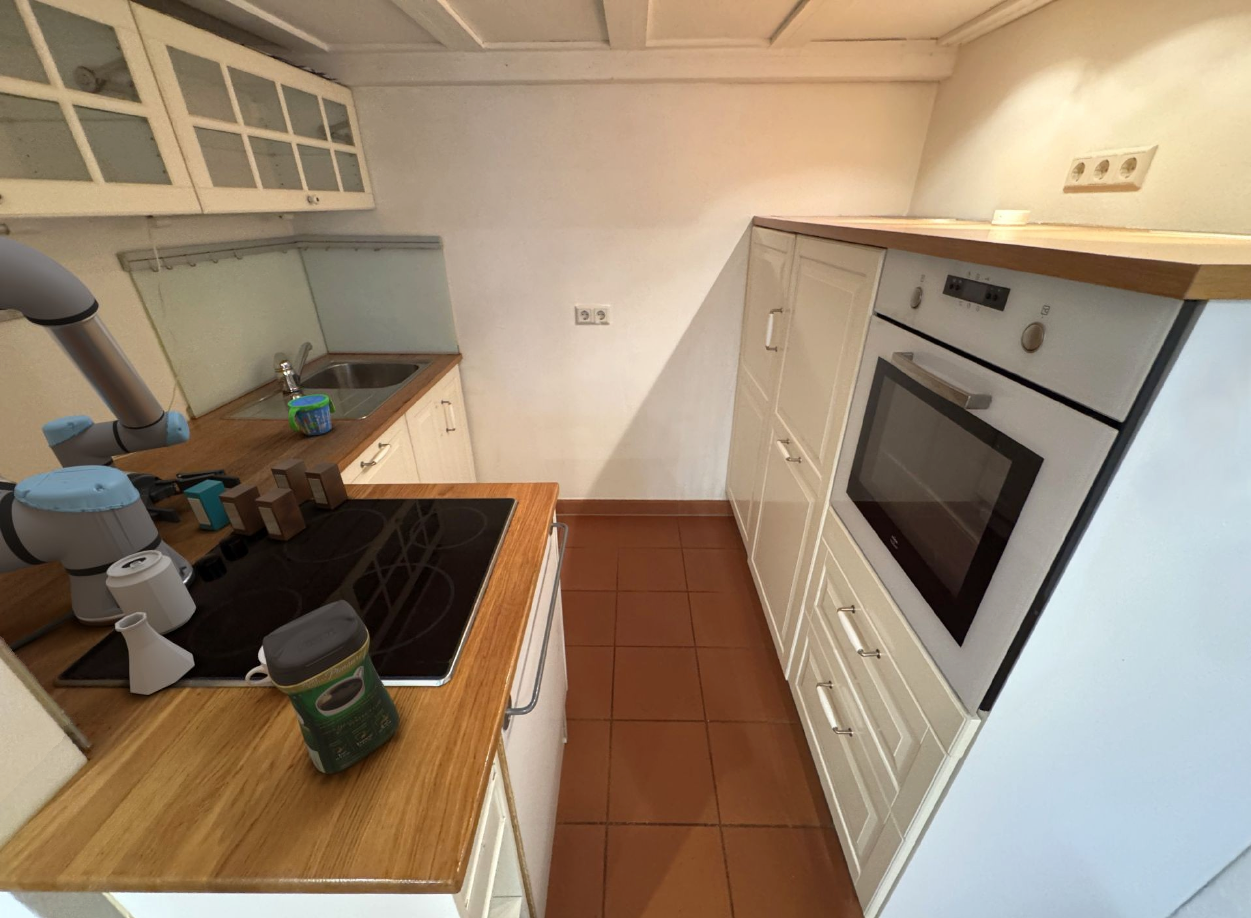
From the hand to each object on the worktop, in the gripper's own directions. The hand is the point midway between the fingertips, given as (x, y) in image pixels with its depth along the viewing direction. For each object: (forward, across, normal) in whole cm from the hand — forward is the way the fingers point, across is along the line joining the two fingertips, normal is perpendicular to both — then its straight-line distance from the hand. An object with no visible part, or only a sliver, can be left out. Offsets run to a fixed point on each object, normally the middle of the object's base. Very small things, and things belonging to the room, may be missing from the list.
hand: (209, 499), depth 103 cm
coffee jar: (+64, +35, -6) cm, 73 cm away
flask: (+30, +33, -6) cm, 45 cm away
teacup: (+49, +29, -6) cm, 57 cm away
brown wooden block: (+18, 0, -6) cm, 19 cm away
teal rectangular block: (0, 0, -6) cm, 6 cm away
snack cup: (-19, -47, -6) cm, 51 cm away
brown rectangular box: (+9, -12, -6) cm, 16 cm away
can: (+20, +25, -6) cm, 33 cm away
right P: (+18, -12, -6) cm, 22 cm away
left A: (+9, 0, -6) cm, 11 cm away
